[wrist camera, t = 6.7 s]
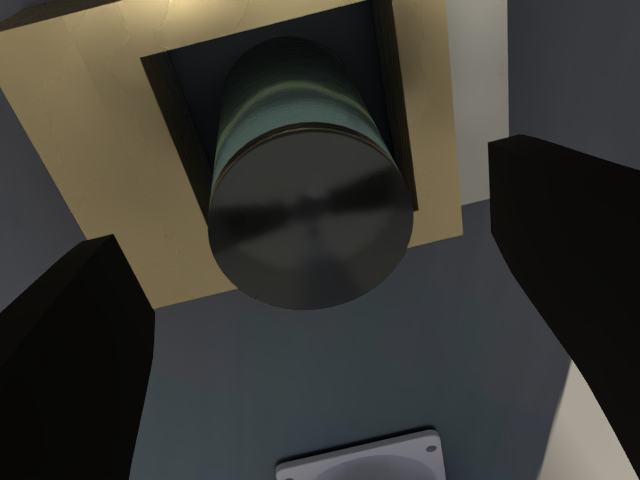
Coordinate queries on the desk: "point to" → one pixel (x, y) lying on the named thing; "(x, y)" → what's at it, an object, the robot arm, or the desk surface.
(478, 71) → the lower end link
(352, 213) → the teal cylinder
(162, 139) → the upper end link
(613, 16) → the desk surface
